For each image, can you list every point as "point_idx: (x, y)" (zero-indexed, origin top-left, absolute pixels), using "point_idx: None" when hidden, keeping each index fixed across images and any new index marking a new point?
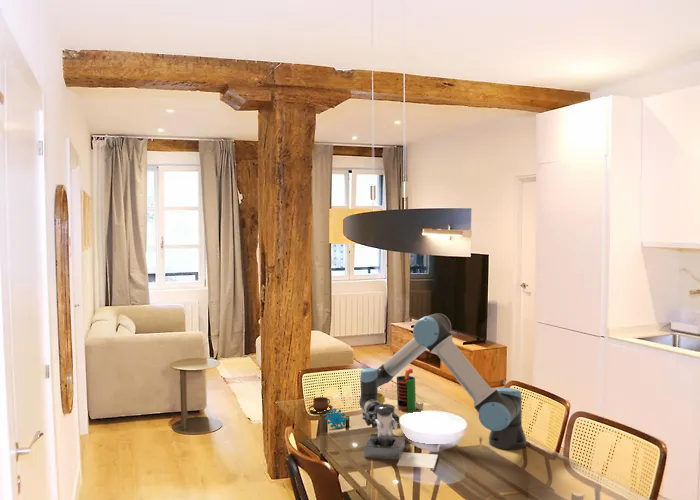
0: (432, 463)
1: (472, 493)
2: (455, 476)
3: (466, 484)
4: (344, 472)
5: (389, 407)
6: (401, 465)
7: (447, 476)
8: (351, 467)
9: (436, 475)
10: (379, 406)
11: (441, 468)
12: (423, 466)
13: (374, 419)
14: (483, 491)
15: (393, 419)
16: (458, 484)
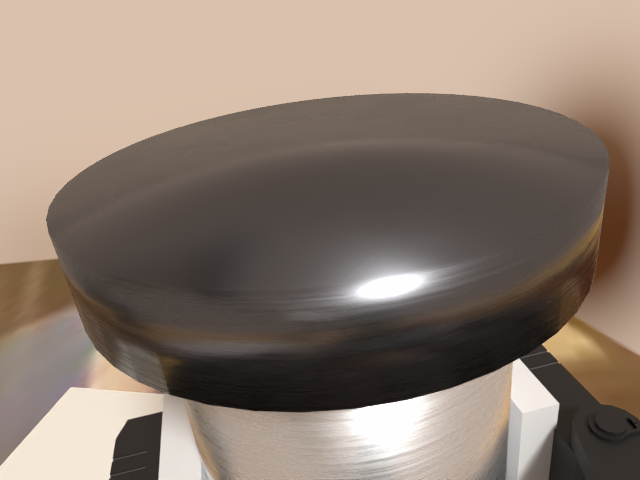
0: (34, 446)
1: (50, 262)
2: (8, 355)
3: (20, 304)
4: (620, 344)
5: (207, 149)
6: None
7: (47, 352)
8: (617, 405)
9: (94, 356)
10: (462, 151)
11: (8, 431)
12: (120, 401)
13: (581, 425)
14: (2, 274)
15: (177, 416)
16: (52, 301)
